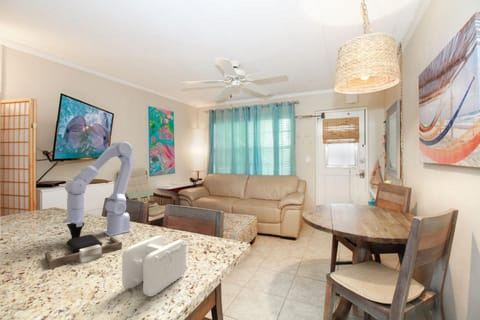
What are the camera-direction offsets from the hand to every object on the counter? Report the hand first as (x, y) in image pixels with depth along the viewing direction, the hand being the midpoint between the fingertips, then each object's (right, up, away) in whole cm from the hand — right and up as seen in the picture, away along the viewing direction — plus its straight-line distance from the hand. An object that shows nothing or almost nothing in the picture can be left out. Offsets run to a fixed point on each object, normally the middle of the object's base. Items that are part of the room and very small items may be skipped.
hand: (75, 239), depth 95 cm
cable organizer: (+46, -2, -30) cm, 55 cm away
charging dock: (+13, -1, -11) cm, 17 cm away
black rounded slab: (+7, -2, -5) cm, 8 cm away
